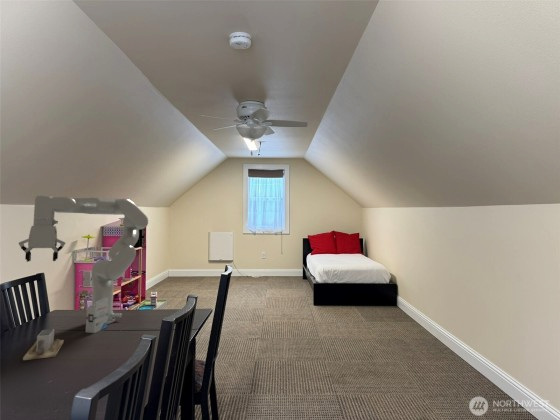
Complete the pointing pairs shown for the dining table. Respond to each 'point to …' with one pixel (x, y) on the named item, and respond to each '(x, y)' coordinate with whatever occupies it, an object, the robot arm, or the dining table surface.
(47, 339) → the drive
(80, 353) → the dining table surface
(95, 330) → the ink box
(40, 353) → the cradle
